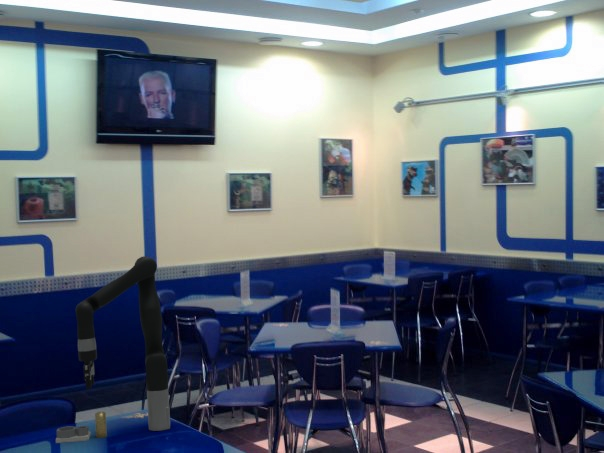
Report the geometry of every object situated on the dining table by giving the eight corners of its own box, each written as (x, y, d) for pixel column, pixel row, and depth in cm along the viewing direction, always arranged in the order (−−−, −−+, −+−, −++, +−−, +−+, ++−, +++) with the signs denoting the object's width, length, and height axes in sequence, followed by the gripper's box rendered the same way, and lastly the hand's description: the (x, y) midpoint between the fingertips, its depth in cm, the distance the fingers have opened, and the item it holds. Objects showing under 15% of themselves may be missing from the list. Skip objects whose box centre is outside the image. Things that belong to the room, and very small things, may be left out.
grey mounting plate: (90, 434, 332) (90, 424, 332) (88, 440, 323) (87, 429, 323) (59, 437, 330) (58, 426, 330) (55, 443, 321) (55, 432, 321)
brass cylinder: (107, 434, 330) (106, 411, 330) (106, 437, 326) (105, 413, 326) (96, 435, 330) (95, 412, 330) (95, 438, 325) (94, 414, 325)
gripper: (94, 350, 322) (97, 389, 322) (98, 345, 336) (101, 382, 336) (75, 352, 321) (78, 391, 321) (80, 347, 335) (83, 384, 335)
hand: (90, 386), depth 328 cm, fingers open, 8 cm apart
